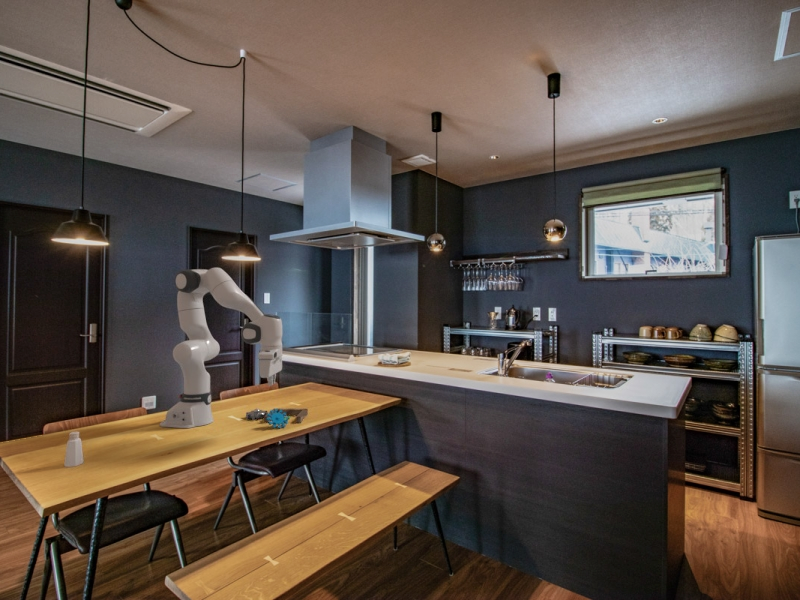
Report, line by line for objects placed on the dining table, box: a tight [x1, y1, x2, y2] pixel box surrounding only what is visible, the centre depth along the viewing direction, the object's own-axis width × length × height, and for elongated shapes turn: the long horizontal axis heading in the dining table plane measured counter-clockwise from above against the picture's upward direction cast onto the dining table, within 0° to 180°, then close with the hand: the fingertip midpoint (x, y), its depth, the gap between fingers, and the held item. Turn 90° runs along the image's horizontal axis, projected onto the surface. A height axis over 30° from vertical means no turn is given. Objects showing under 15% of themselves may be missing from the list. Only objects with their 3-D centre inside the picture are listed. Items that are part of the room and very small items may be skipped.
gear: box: [267, 408, 291, 430], centre depth 192 cm, size 11×6×10 cm
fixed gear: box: [245, 408, 269, 421], centre depth 206 cm, size 10×10×4 cm
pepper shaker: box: [64, 430, 85, 468], centre depth 146 cm, size 5×5×11 cm
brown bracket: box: [263, 408, 309, 424], centre depth 204 cm, size 17×15×3 cm
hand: (271, 384), depth 180 cm, fingers closed
